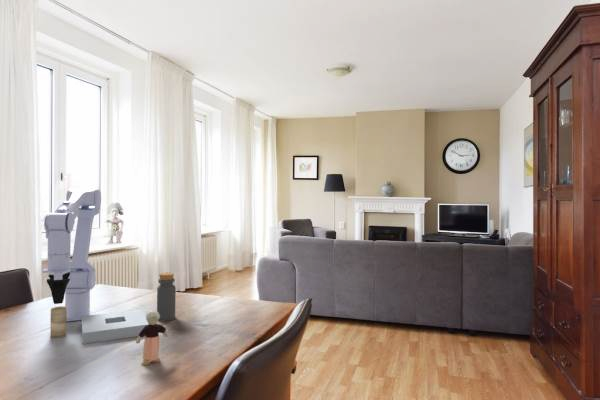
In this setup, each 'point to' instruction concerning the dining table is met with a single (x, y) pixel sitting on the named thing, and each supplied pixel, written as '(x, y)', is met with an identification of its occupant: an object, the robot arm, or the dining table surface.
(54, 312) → the peg
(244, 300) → the dining table surface
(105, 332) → the socket block
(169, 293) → the bottle
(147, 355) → the grandmother figurine
